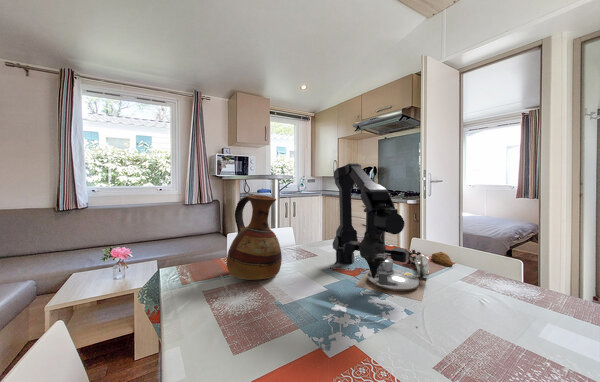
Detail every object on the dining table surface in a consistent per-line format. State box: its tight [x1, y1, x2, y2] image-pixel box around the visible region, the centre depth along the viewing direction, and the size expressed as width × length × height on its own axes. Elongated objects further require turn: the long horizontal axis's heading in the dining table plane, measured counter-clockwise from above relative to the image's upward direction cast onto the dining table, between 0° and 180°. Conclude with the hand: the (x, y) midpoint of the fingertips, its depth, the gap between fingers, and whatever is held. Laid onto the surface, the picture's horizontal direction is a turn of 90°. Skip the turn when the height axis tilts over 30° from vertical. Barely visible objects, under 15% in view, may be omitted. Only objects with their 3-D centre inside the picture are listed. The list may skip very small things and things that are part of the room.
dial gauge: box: [415, 254, 430, 281], centre depth 81 cm, size 4×3×8 cm
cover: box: [377, 257, 394, 275], centre depth 83 cm, size 7×7×4 cm
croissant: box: [430, 251, 453, 268], centre depth 98 cm, size 14×7×5 cm, turn 176°
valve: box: [406, 249, 430, 275], centre depth 90 cm, size 7×7×12 cm
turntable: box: [367, 268, 419, 291], centre depth 79 cm, size 16×16×5 cm
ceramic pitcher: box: [226, 193, 283, 280], centre depth 88 cm, size 20×20×30 cm
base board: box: [354, 269, 427, 302], centre depth 79 cm, size 19×19×1 cm
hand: (373, 278), depth 74 cm, fingers closed
